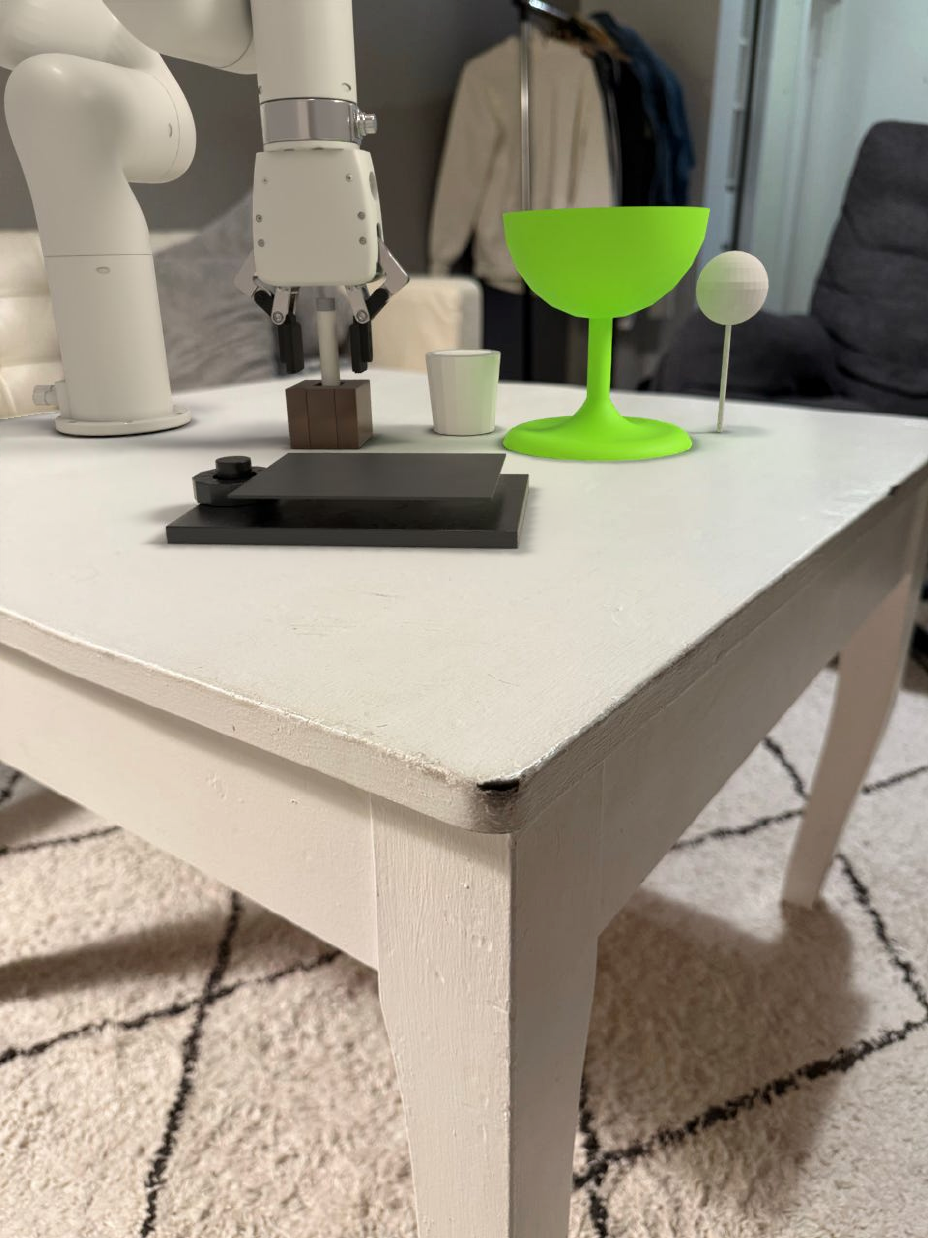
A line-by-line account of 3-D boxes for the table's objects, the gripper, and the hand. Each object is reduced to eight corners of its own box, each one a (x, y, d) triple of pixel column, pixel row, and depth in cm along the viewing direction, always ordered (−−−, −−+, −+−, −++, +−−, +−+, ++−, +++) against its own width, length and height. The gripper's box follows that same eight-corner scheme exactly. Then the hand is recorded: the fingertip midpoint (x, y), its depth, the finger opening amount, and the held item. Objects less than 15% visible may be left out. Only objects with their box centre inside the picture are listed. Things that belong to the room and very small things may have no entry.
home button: (212, 484, 57) (209, 462, 56) (224, 476, 59) (222, 455, 58) (246, 484, 56) (244, 462, 56) (257, 476, 59) (255, 455, 58)
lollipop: (758, 438, 78) (777, 249, 73) (687, 438, 79) (701, 251, 74) (749, 426, 84) (766, 250, 78) (683, 425, 85) (695, 251, 79)
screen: (227, 498, 52) (227, 495, 52) (288, 455, 63) (288, 452, 63) (491, 500, 50) (491, 497, 50) (506, 456, 61) (506, 453, 61)
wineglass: (546, 421, 88) (549, 217, 81) (712, 432, 81) (731, 211, 74) (470, 452, 75) (466, 212, 68) (661, 468, 68) (678, 203, 61)
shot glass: (494, 437, 81) (493, 355, 79) (419, 435, 82) (416, 355, 80) (506, 423, 87) (506, 347, 85) (436, 422, 89) (434, 348, 86)
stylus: (324, 443, 80) (313, 298, 75) (328, 440, 81) (318, 297, 77) (342, 443, 80) (332, 298, 75) (346, 440, 81) (336, 297, 77)
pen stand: (290, 448, 78) (284, 388, 76) (308, 435, 84) (304, 379, 82) (359, 448, 77) (355, 388, 76) (373, 435, 83) (370, 379, 81)
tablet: (154, 544, 52) (148, 502, 51) (237, 487, 65) (233, 452, 64) (517, 550, 50) (517, 505, 49) (528, 489, 63) (529, 453, 62)
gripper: (425, 134, 74) (432, 366, 81) (222, 142, 76) (246, 367, 83) (410, 122, 67) (419, 376, 74) (187, 130, 69) (216, 377, 76)
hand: (327, 369), depth 78 cm, fingers open, 5 cm apart
